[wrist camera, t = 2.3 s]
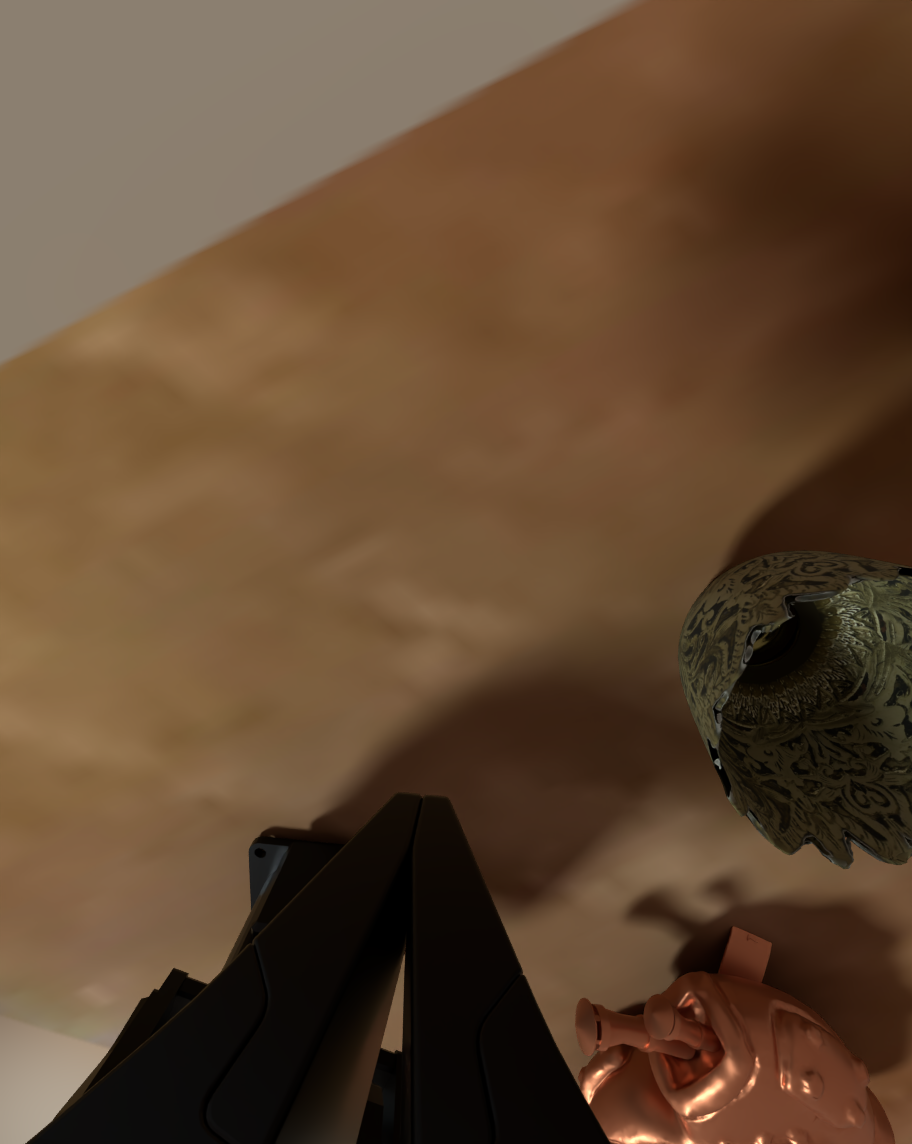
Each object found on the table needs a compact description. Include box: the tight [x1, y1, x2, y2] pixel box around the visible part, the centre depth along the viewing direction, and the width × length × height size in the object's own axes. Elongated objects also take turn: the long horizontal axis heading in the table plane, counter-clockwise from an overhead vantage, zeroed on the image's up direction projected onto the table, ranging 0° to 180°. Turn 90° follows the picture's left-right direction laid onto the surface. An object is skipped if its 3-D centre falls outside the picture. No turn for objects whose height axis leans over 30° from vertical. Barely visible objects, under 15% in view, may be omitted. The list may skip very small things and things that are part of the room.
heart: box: [575, 926, 895, 1144], centre depth 23 cm, size 6×12×15 cm
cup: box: [678, 551, 912, 869], centre depth 16 cm, size 8×7×8 cm
